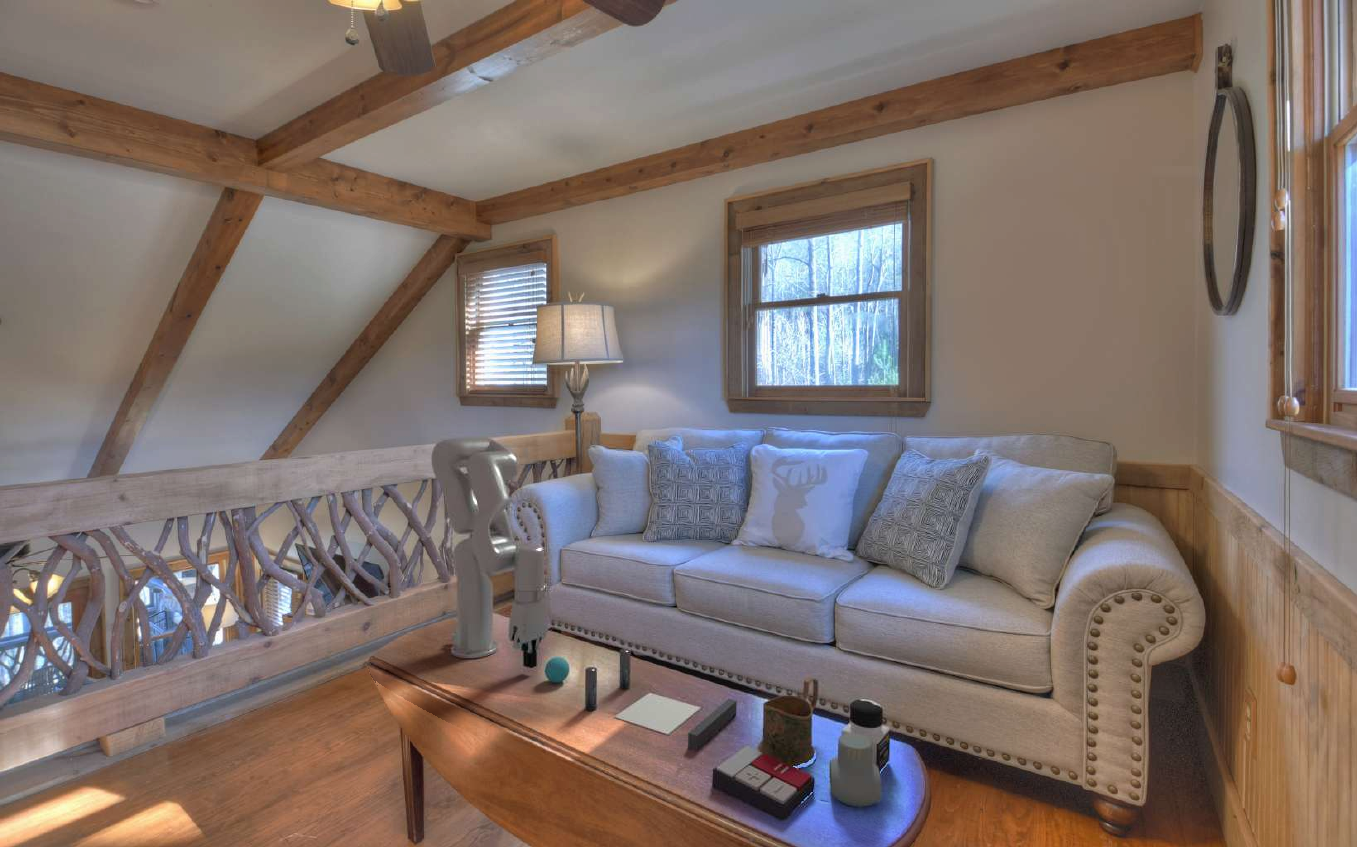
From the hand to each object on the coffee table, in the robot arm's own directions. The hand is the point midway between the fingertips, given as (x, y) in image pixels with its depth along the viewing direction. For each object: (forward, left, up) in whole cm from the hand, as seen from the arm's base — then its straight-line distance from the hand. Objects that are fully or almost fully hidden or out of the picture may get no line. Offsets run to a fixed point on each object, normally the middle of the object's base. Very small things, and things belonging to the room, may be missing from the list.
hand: (530, 665), depth 163 cm
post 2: (+25, +7, -2) cm, 26 cm away
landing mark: (+39, 0, -2) cm, 39 cm away
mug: (+70, +3, -2) cm, 70 cm away
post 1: (+25, -6, -2) cm, 26 cm away
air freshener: (+85, -7, -2) cm, 85 cm away
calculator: (+71, -14, -3) cm, 72 cm away
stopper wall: (+53, 0, -2) cm, 53 cm away
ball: (+9, 0, +1) cm, 9 cm away
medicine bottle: (+84, +4, -2) cm, 84 cm away
